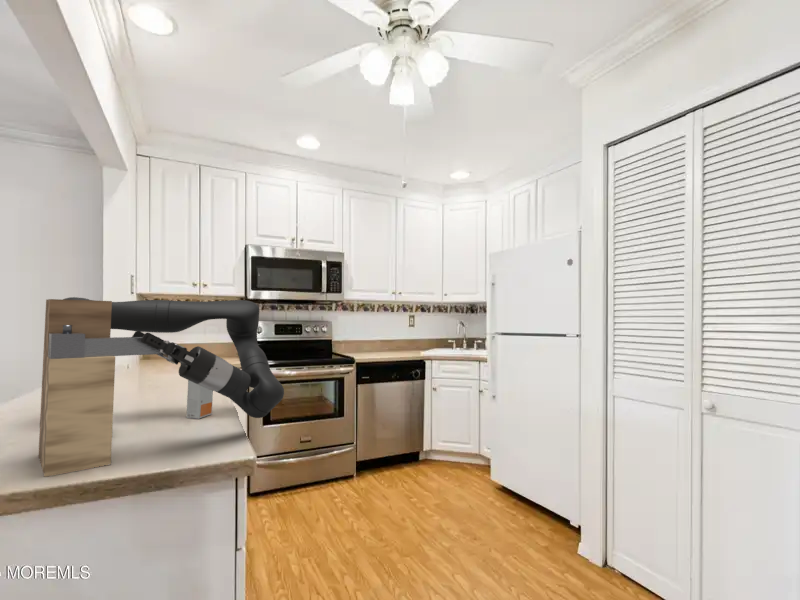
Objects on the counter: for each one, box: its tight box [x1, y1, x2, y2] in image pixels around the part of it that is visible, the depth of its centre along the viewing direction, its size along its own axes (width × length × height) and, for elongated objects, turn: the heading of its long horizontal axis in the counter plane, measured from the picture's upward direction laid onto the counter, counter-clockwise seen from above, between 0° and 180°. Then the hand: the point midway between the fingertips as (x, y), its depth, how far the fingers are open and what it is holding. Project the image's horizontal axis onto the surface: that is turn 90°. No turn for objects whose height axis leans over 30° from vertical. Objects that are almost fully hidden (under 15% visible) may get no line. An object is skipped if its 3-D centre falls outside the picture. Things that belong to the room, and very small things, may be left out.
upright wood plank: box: [37, 298, 116, 478], centre depth 87 cm, size 15×10×32 cm, turn 43°
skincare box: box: [185, 380, 214, 420], centre depth 124 cm, size 6×4×12 cm
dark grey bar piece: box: [48, 325, 159, 359], centre depth 86 cm, size 5×18×6 cm, turn 133°
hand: (138, 335), depth 90 cm, fingers open, 8 cm apart
